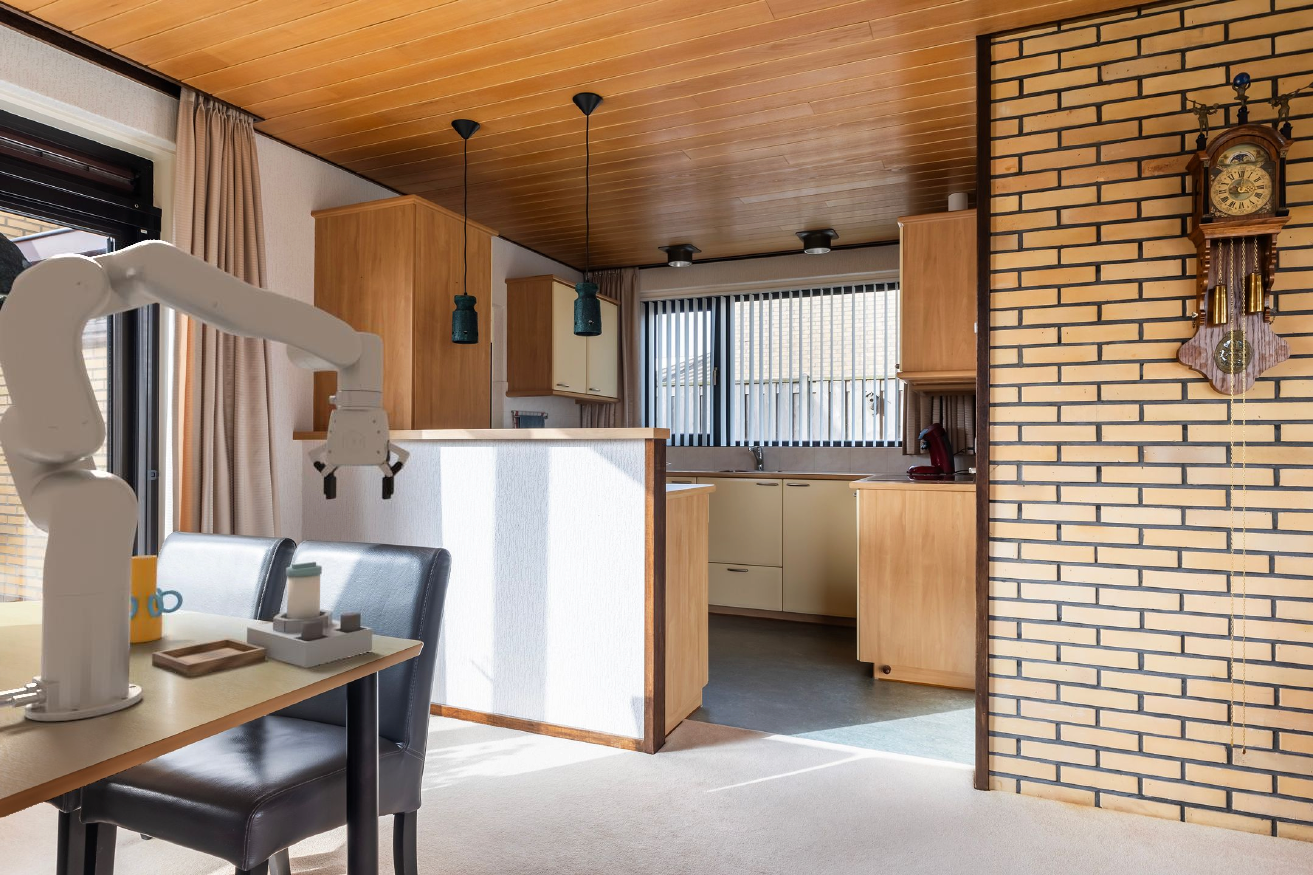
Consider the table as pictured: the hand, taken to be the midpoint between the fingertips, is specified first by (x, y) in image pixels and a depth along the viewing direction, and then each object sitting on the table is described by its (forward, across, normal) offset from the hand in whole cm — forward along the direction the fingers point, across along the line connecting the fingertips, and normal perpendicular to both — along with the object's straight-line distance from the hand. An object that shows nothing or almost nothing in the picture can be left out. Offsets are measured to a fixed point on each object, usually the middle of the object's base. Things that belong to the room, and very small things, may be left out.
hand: (358, 498), depth 133 cm
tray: (+26, -20, -9) cm, 34 cm away
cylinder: (+26, -40, +6) cm, 48 cm away
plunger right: (+23, 0, -4) cm, 23 cm away
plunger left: (+23, -4, -10) cm, 25 cm away
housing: (+26, -6, -4) cm, 27 cm away
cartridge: (+22, -9, -2) cm, 24 cm away
